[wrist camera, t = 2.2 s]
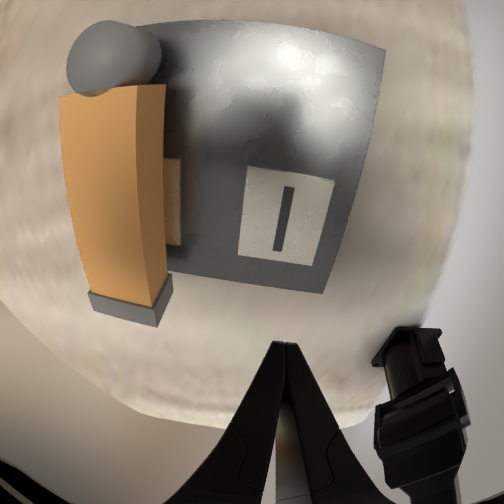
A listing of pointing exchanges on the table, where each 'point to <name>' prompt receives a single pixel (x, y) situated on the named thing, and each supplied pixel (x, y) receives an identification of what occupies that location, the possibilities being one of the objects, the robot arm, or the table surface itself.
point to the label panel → (262, 147)
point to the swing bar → (117, 169)
